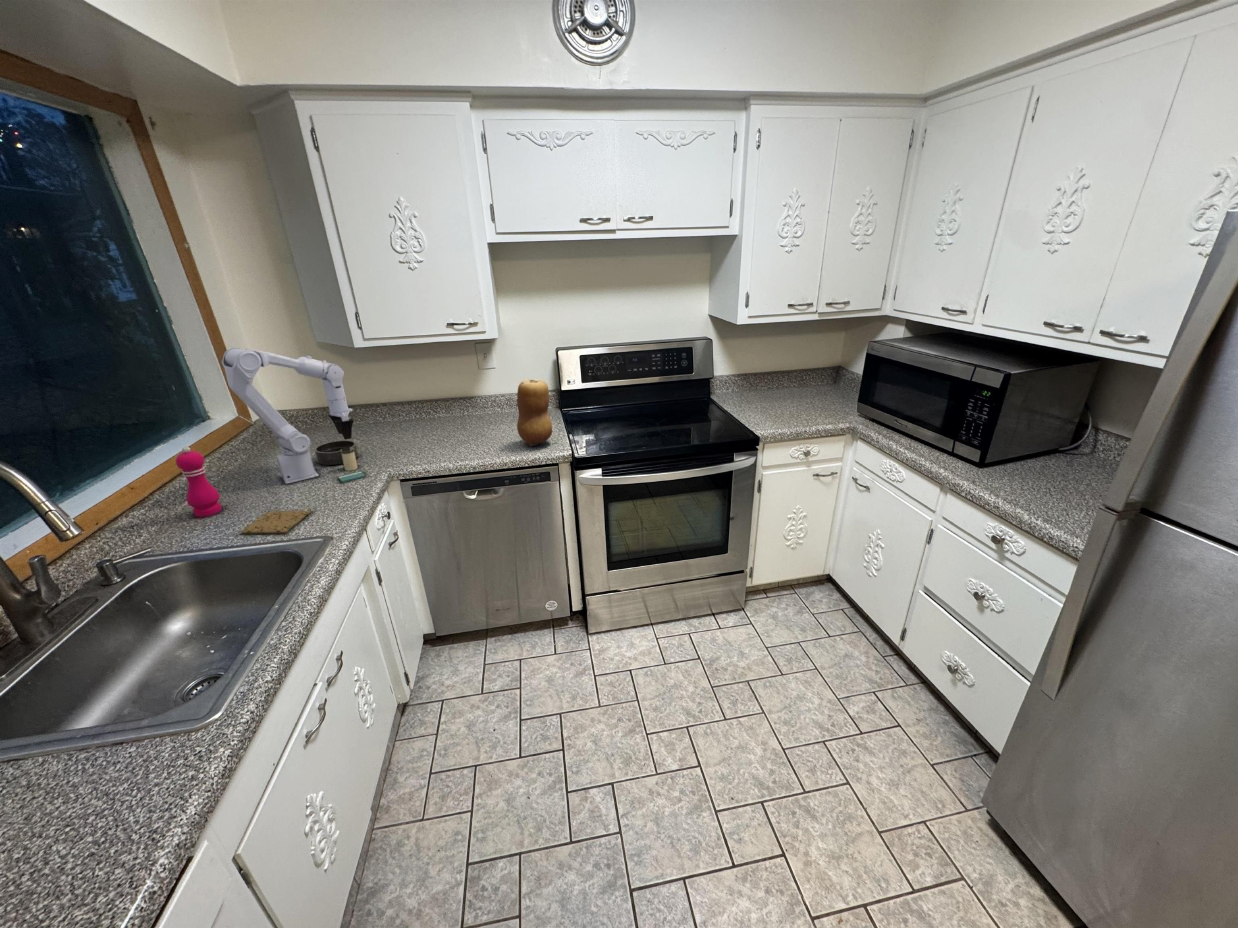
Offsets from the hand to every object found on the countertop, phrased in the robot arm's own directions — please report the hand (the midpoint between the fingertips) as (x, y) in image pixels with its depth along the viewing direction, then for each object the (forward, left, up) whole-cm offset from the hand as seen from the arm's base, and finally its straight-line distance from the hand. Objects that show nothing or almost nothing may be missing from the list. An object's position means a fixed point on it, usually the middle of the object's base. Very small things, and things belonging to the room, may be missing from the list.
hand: (345, 436), depth 177 cm
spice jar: (-2, -8, -9) cm, 12 cm away
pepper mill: (-42, -15, -10) cm, 46 cm away
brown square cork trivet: (-28, -36, -10) cm, 47 cm away
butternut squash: (+59, -29, -10) cm, 67 cm away
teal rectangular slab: (-4, -16, -9) cm, 19 cm away
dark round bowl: (-3, +5, -9) cm, 11 cm away
